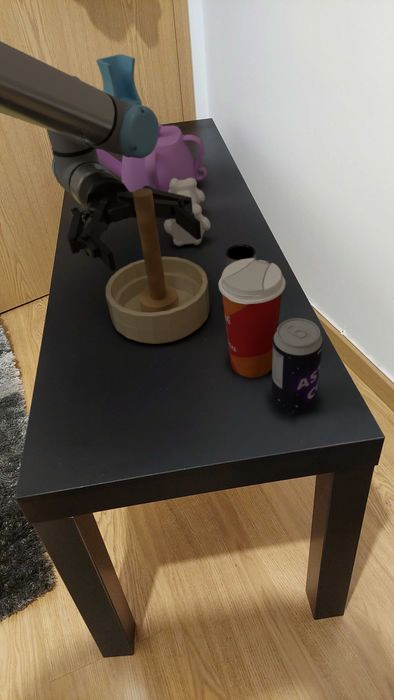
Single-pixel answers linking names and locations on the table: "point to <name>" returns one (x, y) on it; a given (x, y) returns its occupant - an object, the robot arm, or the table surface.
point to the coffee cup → (251, 313)
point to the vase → (119, 77)
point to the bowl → (162, 324)
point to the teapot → (158, 162)
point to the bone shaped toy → (198, 197)
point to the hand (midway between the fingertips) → (156, 245)
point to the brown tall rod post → (152, 257)
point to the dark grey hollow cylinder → (239, 253)
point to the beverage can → (296, 365)
